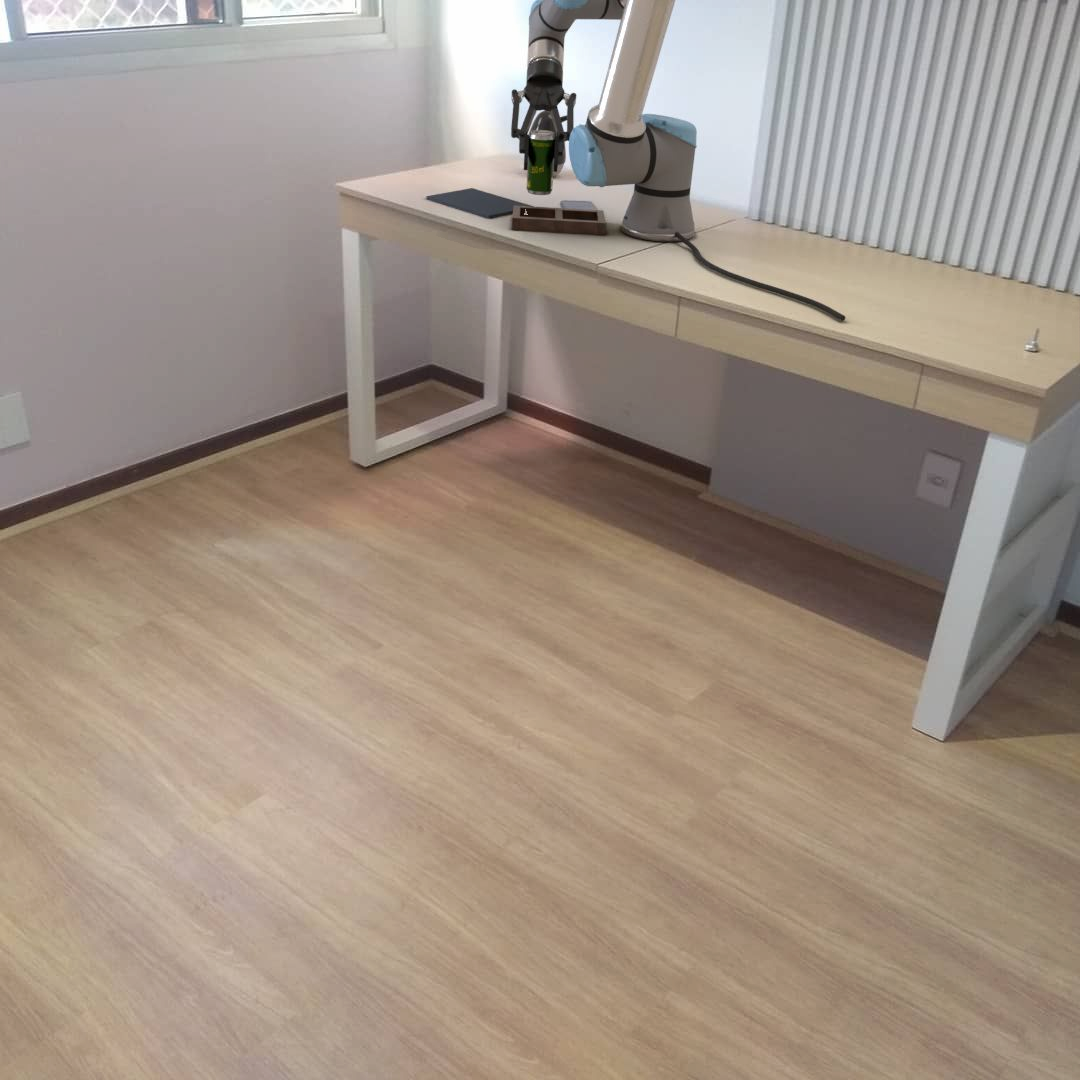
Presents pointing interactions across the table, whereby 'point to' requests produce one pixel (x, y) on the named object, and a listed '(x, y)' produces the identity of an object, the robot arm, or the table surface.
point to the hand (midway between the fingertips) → (540, 167)
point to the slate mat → (477, 202)
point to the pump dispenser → (546, 123)
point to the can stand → (558, 220)
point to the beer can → (540, 162)
